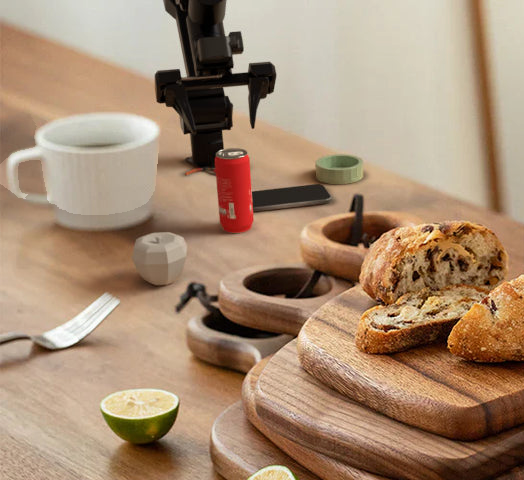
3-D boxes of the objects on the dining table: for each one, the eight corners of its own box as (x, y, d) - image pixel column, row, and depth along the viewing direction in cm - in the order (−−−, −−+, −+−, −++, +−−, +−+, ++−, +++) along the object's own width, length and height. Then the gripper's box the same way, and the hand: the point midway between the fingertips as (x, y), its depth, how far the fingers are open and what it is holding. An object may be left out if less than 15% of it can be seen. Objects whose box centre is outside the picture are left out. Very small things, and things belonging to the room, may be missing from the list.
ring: (306, 175, 187) (306, 160, 186) (344, 165, 192) (344, 151, 190) (334, 187, 181) (333, 173, 180) (372, 177, 186) (372, 162, 184)
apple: (175, 295, 145) (170, 251, 142) (123, 288, 148) (117, 244, 145) (201, 272, 152) (197, 229, 149) (151, 265, 154) (146, 222, 151)
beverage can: (217, 223, 168) (211, 149, 162) (250, 219, 169) (245, 146, 164) (223, 236, 164) (217, 160, 158) (257, 231, 165) (252, 156, 159)
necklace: (249, 174, 188) (247, 163, 187) (186, 183, 187) (184, 172, 186) (247, 160, 195) (245, 150, 194) (186, 169, 194) (184, 159, 193)
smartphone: (234, 192, 178) (322, 183, 181) (234, 197, 178) (322, 187, 181) (241, 209, 171) (333, 198, 174) (241, 213, 172) (333, 202, 175)
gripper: (148, 17, 162) (163, 109, 157) (270, 9, 166) (288, 98, 161) (149, 58, 172) (163, 145, 168) (264, 49, 176) (281, 134, 172)
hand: (223, 130), depth 167 cm, fingers open, 9 cm apart
